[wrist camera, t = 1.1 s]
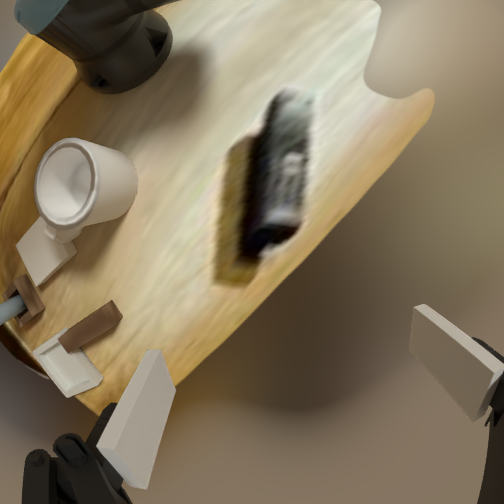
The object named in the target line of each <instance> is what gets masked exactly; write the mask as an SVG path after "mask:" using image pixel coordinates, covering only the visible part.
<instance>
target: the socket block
mask: <svg viewBox="0 0 504 504" xmlns="http://www.w3.org/2000/svg"><path fill="white" fill-rule="evenodd" d="M18 292H19V293H20V295H21V297H22V299H23V301H24V303H25V304H26V306H27V308H28V310H29V311H28V312H27V310H24V311H22V312H21V313H19V314H17V315H16V316H14V318H15V320H16V321H17V323H18V325H19V326H20V328H21V327H23V326H24V325H25V324H27V323H28V322H30V321H31V320H32V319H33V318H34V317H35V316H36V315H38V314H39V313H40V312H41V311H42V310H43V309H44V308H45V306H44V305H43V303H42V301H41V300H40V298H39V296H38V294H37V293H36V291H35V289H34V287H33V285H32V283H31V282H30V280H29V278H28V276H27V274H25V275H23V276H21V277H19V278H16V280H15V281H14V282H13V283H12V284H11V285H10V287H9V288H8V289H7V290H6V291H5V293H4V294H3V295H2V296H3V298H4V300H5V301H7V300H9V299H11V298H13V297H15V296H17V295H18V294H17V293H18Z"/></svg>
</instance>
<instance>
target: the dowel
mask: <svg viewBox="0 0 504 504" xmlns="http://www.w3.org/2000/svg"><path fill="white" fill-rule="evenodd" d="M26 309H27V306H26V304H25V303H24V301H23V299H22V297H21V295H20V294H18V295H17V296H15V297H13V298H11V299H9V300H7V301H5V302H3V303H2V304H0V325H2V324H3V323H5V322H6V321H8V320H9V319H11V318H13V317H14V316H16V315H17V314H19V313H21V312H22V311H24V310H26Z"/></svg>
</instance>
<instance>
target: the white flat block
mask: <svg viewBox="0 0 504 504" xmlns="http://www.w3.org/2000/svg"><path fill="white" fill-rule="evenodd" d="M46 224H47V223H46V222H45V221H44V219H43V218H42V217H41V216H40V217H39V218H38V219H37V221H36V222H35V223H34V224H33V225H32V226H31V227H30V229H29V230H28V231H27V232H26V233H25V235H24V236H23V237H22V238H21V240H20V241H19V242H18V243H17V245H16V247H17V249H18V251H19V254H20V256H21V258H22V260H23V262H24V264H25V266H26V268H27V270H28V272H29V274H30V276H31V278H32V280H33V281H34V283H35V285H36V287H37V286H39V285H41V284H43V283H45V282H46V281H47V280H48V279H49V278H50V277H51V276H52V275H53V274H54V273H55V272H56V271H58V270H59V269H60V268H61V267H62V266H63V265H64V264H65V263H66V262H67V261H68V260H70V259H71V258H72V257H73V256H74V255H75V254H76V253H77V250H76V248H75V246H74V245H73V243H72V241H70V242H66V243H62V244H59V243H57V242H56V241H54V240H52V239H51V238H50V237H49V236H48V235H47V234H46V233H45V232H44V229H45V227H46Z"/></svg>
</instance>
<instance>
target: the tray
mask: <svg viewBox="0 0 504 504" xmlns="http://www.w3.org/2000/svg"><path fill="white" fill-rule="evenodd" d="M67 330H68V329H67V328H66V327H65V328H64V329H62V330H61V331H59V332H58V333H57V334H55V335H54V336H52V337H51V338H50V339H48V340H47V341H45V342H44V343H43V344H41V345H40V346H39V347H37V348H36V349H35V350H34V351H33V352H32V353H33V355H34V356H35V358H36V359H37V360H38V362H39V363H40V365H41V366H42V367H43V369H44V370H45V371H46V373H47V374H48V375H49V377H50V378H51V379H52V380H53V381H54V383H55V384H56V385H57V387H58V388H59V389H60V390H61V391H62V393H63V394H64V395H65V396H66V397H67V398H68V397H71V396H73V395H76V394H78V393H81V392H83V391H86V390H88V389H90V388H93V387H95V386H98V385H99V384H100V382H101V381H102V379H103V378H104V377H103V376H102V375H101V373H100V372H99V371H98V370H97V368H96V367H95V366H94V365H93V363H92V362H91V361H90V360H89V358H88V357H87V356H86V354H85V353H84V352H83V350H82V349H81V348H80V347H79V348H77V349H76V350H74V351H72V352H70V353H69V354H68V353H67V352H66V351H65V349H64V348H63V346H62V345H61V344H60V342H59V341H58V338H59V337H60V336H61V335H62V334H64V333H65V332H66V331H67Z"/></svg>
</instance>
